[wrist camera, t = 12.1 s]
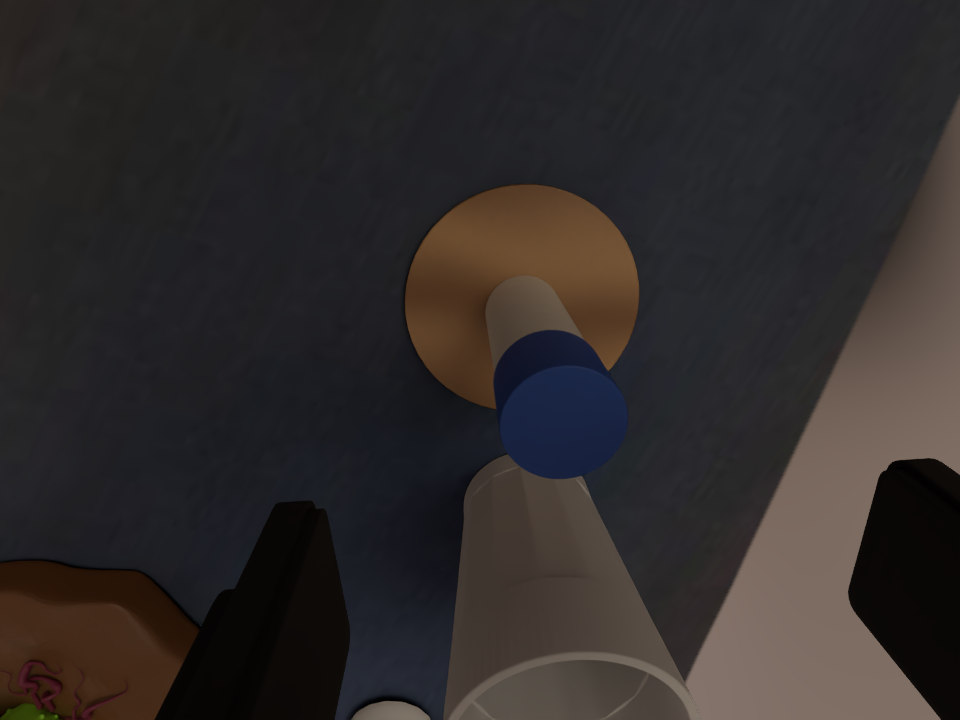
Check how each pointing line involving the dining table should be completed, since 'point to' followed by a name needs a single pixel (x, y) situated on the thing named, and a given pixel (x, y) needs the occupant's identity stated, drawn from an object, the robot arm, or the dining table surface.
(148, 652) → the plant
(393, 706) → the white jar
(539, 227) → the coaster
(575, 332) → the marker
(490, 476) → the cup
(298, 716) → the robot arm
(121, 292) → the dining table surface
